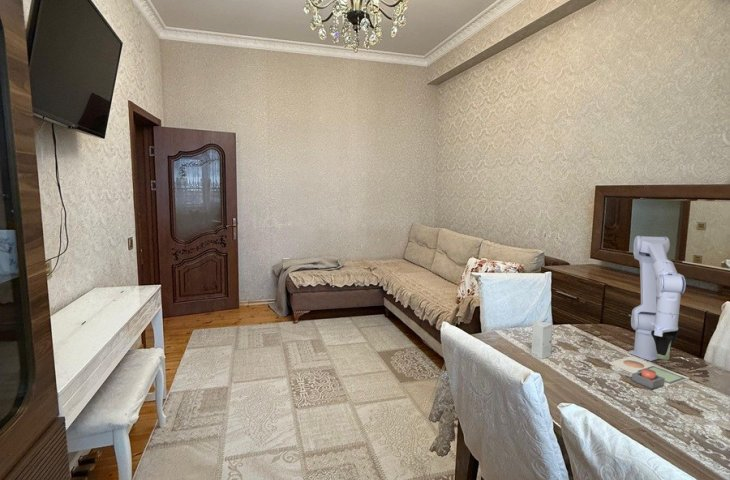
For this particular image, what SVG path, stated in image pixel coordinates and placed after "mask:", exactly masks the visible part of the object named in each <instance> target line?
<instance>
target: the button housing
mask: <svg viewBox="0 0 730 480" xmlns="http://www.w3.org/2000/svg"><path fill="white" fill-rule="evenodd" d="M664 380H665V378H663V377H660V376H658V375H656V377H655V380H649V379H647V378H644V377H642V376H641V371H639V372H636V373H632V374H631V382H632V383H635V384H637V385H640V386H642V387H644V388H647V389H648V390H649V389H650V390H652V391H653V390H656V389H658V388H661V387H665V386H664Z"/></svg>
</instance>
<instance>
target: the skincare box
mask: <svg viewBox="0 0 730 480" xmlns="http://www.w3.org/2000/svg"><path fill="white" fill-rule="evenodd" d="M531 333H532V334H531V335H532V337H531V338H532V339H531V356H532V357H535V358H537V359H540V360H543V359H546V358H548V357H551V356H552V338H553V323H551V322H546V321H544V320H541V321H537V322H535V323H532V332H531Z"/></svg>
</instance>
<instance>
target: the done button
mask: <svg viewBox="0 0 730 480" xmlns="http://www.w3.org/2000/svg"><path fill="white" fill-rule="evenodd" d="M641 376H642V377H644V378H647V379H649V380H655V377H656V372H655V371H653V370H650V369H642V371H641Z"/></svg>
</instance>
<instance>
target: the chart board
mask: <svg viewBox="0 0 730 480" xmlns="http://www.w3.org/2000/svg"><path fill="white" fill-rule="evenodd" d="M609 365H612V366H614V367H617V368H618V369H621V370H624V371H627V372H629V373H632V374H633V373H636V372H639V371H642V369H650V370H653V371H655V372H656V375H658V376H660V377H663V378H665V380H664V386H663V387H666V388H670V387H672V386H675V385H679V384H680V383H684V382H686V381H687V382H688V381H689V380H690V377H688V376H687V375H686V376H685V375H682V374H680V373H677V372H676V371H672V370H669V369H667V368H664V367H661V366H659V365H656V364H653V363H650V362H648V361H645V360H642V359H641V358H640V359H639V358H637V357H634V356H627V357H624V358H619V359H616V360H613V361H610V362H609Z"/></svg>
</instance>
